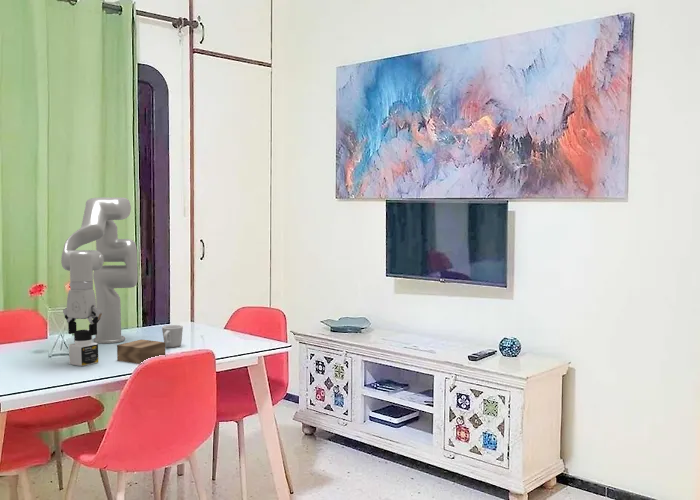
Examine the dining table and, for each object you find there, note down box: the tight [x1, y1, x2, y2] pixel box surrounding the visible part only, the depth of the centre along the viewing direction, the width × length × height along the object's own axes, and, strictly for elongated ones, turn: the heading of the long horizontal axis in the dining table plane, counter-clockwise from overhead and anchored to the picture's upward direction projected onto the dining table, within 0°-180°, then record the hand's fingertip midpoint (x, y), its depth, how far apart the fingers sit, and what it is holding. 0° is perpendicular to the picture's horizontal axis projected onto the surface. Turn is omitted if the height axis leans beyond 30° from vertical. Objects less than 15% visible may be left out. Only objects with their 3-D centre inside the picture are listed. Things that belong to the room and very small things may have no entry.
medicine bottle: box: [68, 329, 99, 367], centre depth 250 cm, size 7×7×12 cm
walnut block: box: [116, 339, 166, 365], centre depth 257 cm, size 12×12×6 cm
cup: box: [161, 324, 184, 348], centre depth 278 cm, size 11×8×8 cm
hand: (82, 334), depth 249 cm, fingers open, 9 cm apart
